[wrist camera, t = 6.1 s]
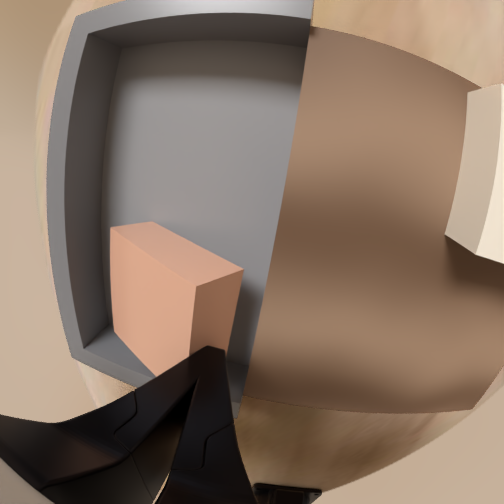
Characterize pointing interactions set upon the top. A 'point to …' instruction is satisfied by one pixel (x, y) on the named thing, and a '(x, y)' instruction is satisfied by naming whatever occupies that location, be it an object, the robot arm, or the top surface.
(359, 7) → the top surface
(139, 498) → the robot arm
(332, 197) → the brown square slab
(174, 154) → the box
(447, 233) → the cream tile
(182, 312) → the terracotta tile
